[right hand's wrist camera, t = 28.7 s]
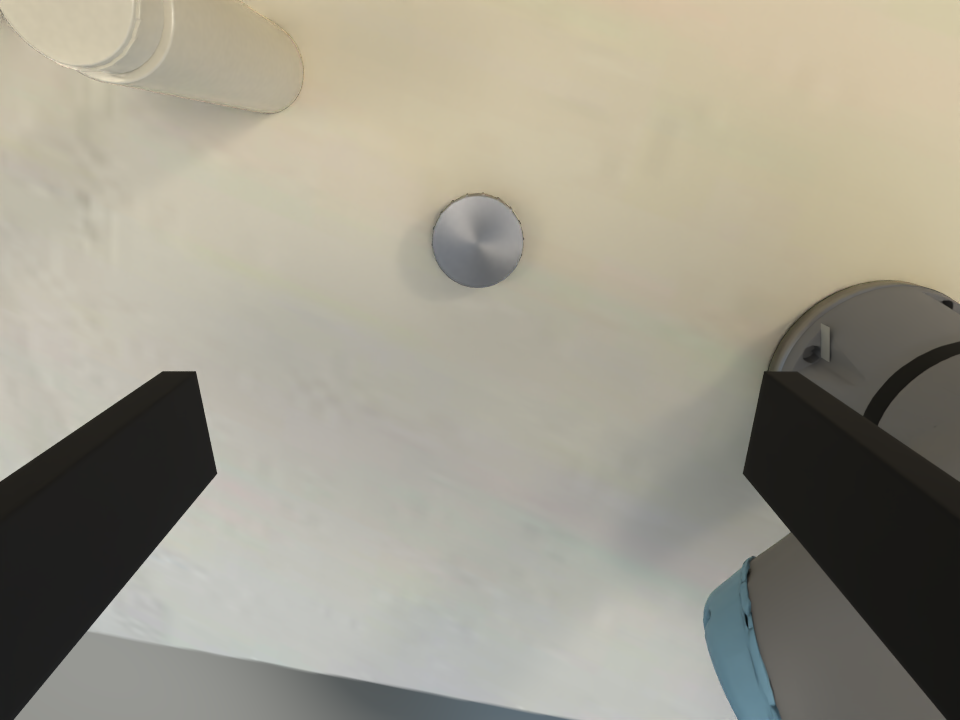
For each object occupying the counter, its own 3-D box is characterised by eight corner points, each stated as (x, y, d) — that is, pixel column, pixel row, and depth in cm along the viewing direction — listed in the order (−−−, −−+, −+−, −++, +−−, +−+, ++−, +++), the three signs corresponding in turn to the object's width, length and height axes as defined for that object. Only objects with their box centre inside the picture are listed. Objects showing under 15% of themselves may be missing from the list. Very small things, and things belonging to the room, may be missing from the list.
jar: (241, 124, 36) (35, 97, 20) (203, 34, 34) (-60, -83, 18) (316, 99, 36) (172, 49, 19) (283, 5, 34) (89, -142, 17)
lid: (446, 181, 38) (444, 182, 36) (533, 208, 38) (536, 211, 36) (424, 267, 40) (421, 273, 38) (506, 291, 40) (508, 299, 38)
